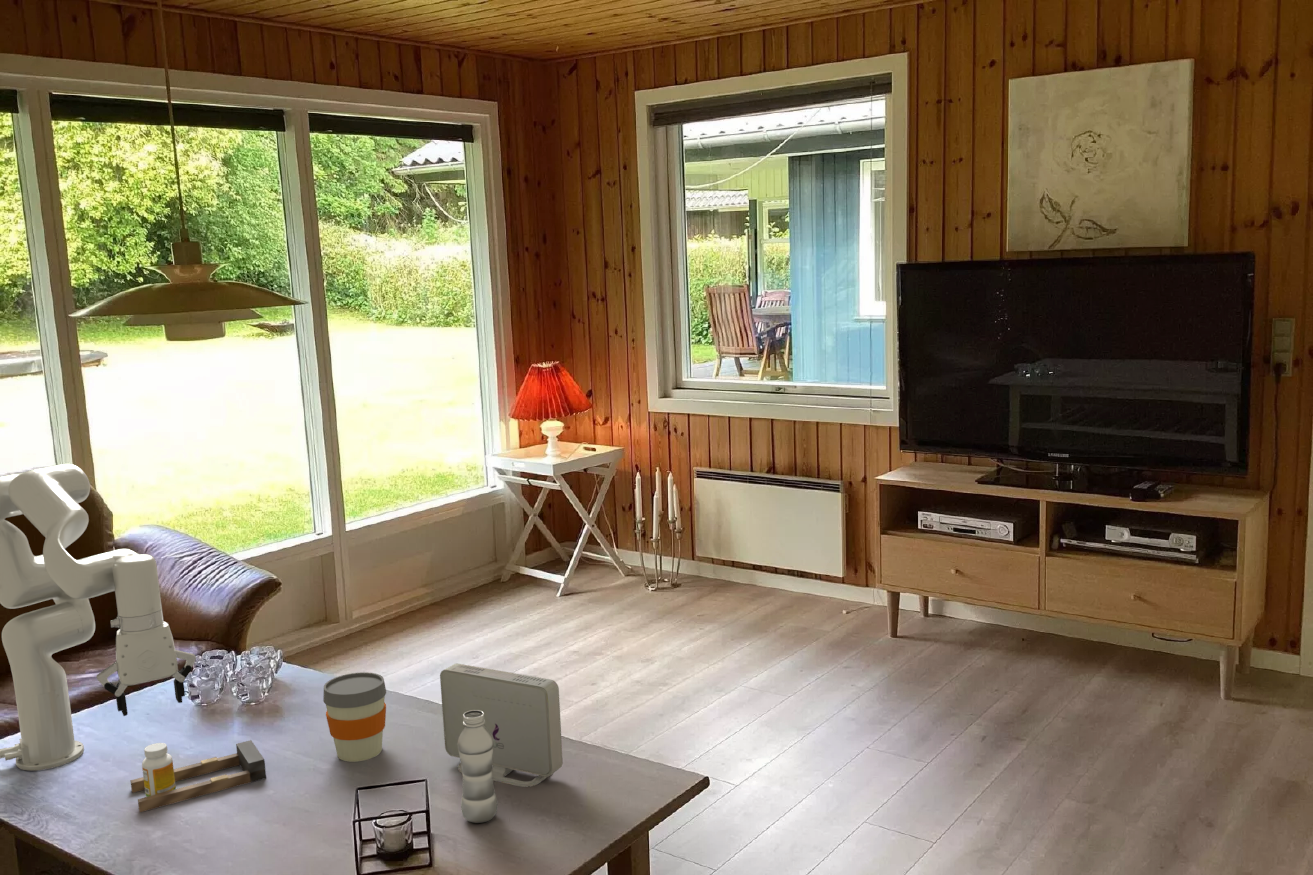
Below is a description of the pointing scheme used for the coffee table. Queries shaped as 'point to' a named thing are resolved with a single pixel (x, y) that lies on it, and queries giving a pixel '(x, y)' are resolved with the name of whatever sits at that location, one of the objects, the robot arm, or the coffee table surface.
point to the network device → (506, 718)
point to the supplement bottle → (158, 770)
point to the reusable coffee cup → (356, 714)
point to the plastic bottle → (477, 769)
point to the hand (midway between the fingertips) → (152, 707)
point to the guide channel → (244, 758)
